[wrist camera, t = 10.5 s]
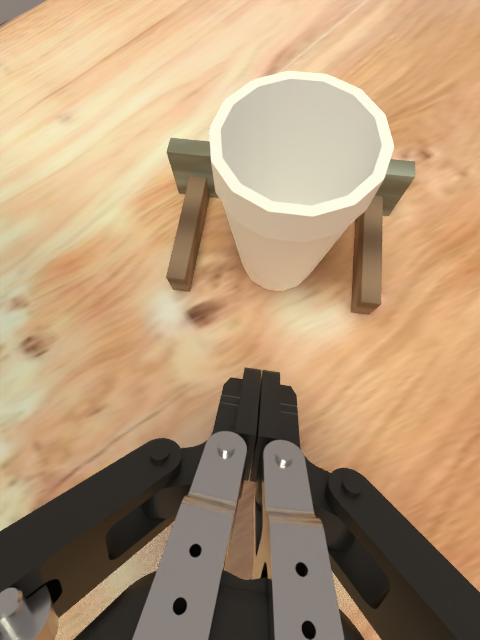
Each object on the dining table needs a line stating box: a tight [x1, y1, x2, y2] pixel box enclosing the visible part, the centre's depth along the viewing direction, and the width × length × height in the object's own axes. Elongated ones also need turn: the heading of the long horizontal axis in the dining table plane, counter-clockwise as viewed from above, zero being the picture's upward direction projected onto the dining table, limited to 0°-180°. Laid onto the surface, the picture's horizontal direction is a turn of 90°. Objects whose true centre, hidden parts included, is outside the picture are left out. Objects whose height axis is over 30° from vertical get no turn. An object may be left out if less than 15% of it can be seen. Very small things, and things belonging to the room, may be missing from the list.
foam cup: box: [209, 71, 394, 291], centre depth 23 cm, size 10×9×13 cm
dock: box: [166, 138, 415, 314], centre depth 27 cm, size 12×20×5 cm, turn 82°
